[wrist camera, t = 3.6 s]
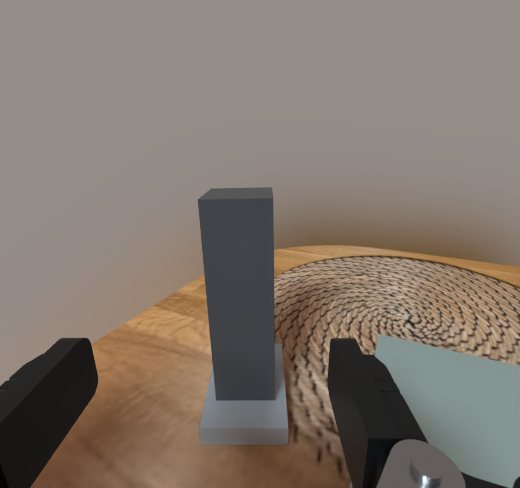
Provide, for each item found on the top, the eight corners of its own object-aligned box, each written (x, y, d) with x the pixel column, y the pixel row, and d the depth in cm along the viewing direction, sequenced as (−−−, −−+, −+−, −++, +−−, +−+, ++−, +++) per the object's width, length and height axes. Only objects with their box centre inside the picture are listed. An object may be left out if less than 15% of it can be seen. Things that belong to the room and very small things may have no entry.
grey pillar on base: (288, 444, 21) (289, 205, 15) (200, 444, 21) (172, 207, 16) (281, 356, 29) (281, 183, 24) (219, 356, 29) (206, 184, 24)
